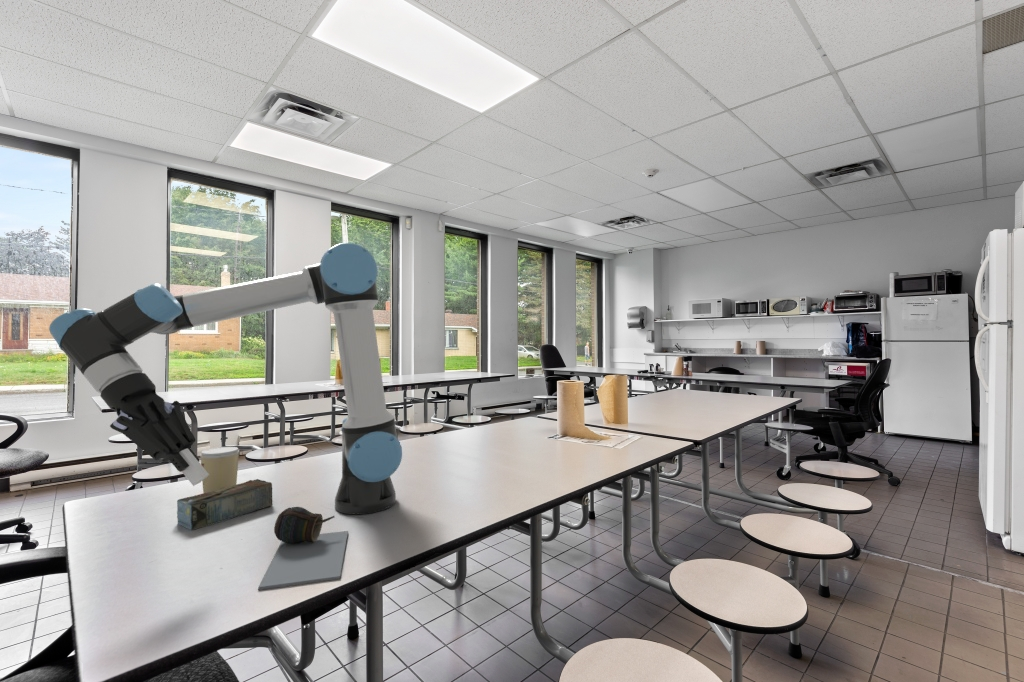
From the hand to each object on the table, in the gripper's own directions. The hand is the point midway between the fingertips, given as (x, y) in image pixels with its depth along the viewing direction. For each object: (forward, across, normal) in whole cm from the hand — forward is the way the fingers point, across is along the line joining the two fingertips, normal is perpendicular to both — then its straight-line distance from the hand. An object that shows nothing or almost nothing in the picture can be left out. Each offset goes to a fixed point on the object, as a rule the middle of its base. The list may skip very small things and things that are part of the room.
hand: (201, 480), depth 86 cm
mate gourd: (+15, -8, 0) cm, 18 cm away
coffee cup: (-1, -38, -35) cm, 52 cm away
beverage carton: (+7, -23, -23) cm, 33 cm away
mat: (+25, -3, +5) cm, 25 cm away
